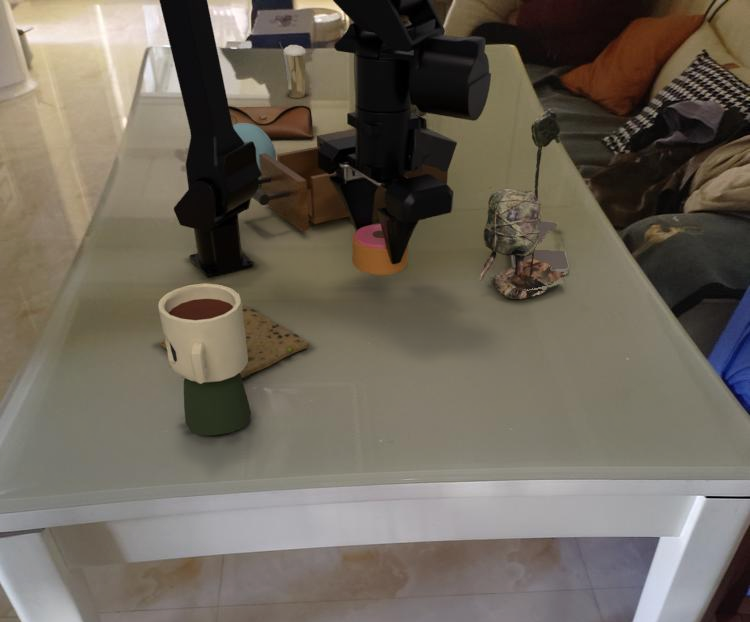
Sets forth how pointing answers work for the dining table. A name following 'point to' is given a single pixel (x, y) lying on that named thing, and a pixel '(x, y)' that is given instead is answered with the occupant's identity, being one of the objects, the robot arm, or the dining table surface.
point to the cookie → (265, 342)
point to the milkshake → (295, 70)
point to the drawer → (298, 188)
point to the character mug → (208, 355)
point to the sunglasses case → (276, 120)
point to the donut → (374, 252)
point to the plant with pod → (521, 226)
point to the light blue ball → (255, 139)
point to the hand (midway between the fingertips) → (380, 252)
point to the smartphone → (548, 252)
